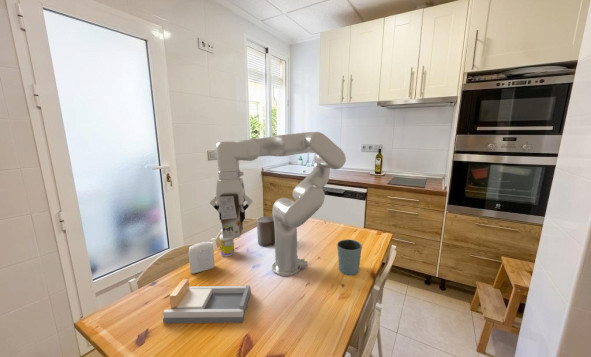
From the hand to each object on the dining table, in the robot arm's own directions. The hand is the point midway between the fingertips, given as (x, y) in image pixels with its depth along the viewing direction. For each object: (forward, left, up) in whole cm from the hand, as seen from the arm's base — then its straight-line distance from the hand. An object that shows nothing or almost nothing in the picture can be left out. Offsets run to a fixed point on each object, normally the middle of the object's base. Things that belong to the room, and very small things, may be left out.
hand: (232, 221), depth 91 cm
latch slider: (+11, +14, -24) cm, 30 cm away
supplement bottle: (+10, -24, -26) cm, 37 cm away
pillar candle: (-8, -36, -26) cm, 45 cm away
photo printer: (+17, -10, -26) cm, 33 cm away
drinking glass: (-47, -8, -26) cm, 54 cm away
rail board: (+5, +14, -26) cm, 30 cm away
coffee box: (0, 0, -5) cm, 5 cm away
